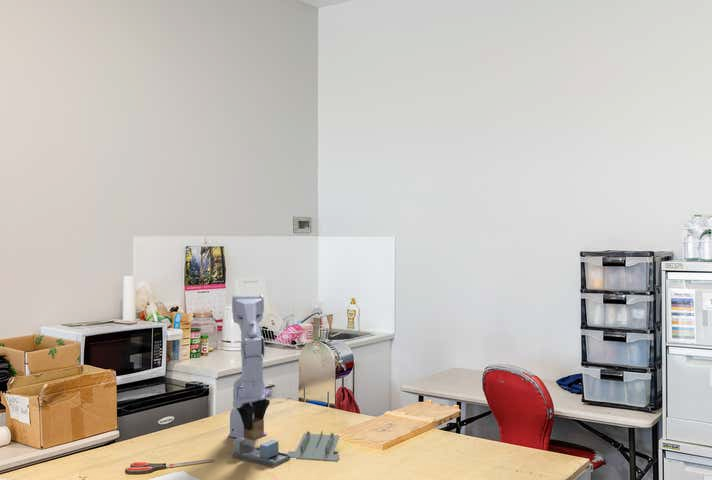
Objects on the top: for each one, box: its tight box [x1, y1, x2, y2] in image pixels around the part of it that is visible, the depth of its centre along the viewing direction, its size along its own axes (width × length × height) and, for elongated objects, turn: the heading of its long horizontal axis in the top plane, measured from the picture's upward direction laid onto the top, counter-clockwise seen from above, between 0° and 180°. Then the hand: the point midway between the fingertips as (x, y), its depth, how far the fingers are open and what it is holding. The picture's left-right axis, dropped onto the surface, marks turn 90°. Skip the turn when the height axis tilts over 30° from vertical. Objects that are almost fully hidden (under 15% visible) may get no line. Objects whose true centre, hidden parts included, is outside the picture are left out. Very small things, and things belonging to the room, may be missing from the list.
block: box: [244, 417, 265, 442], centre depth 192 cm, size 4×4×5 cm
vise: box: [231, 436, 291, 467], centre depth 191 cm, size 15×8×5 cm, turn 58°
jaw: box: [259, 439, 280, 459], centre depth 189 cm, size 3×5×4 cm, turn 148°
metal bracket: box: [287, 430, 340, 463], centre depth 195 cm, size 14×6×15 cm
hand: (253, 427), depth 192 cm, fingers closed on block, 4 cm apart
